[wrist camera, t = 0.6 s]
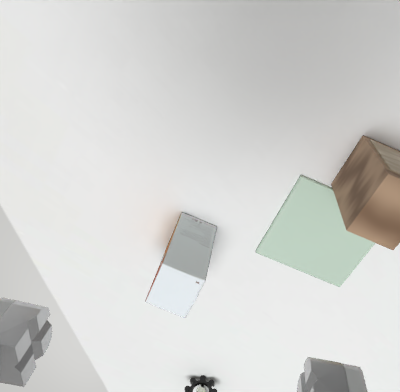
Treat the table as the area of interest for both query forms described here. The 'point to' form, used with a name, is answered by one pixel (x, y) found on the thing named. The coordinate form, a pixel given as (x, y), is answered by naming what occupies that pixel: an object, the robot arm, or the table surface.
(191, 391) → the valve
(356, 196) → the walnut block
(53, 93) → the table surface
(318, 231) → the green glass pane
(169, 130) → the table surface
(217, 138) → the table surface
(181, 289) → the small box
